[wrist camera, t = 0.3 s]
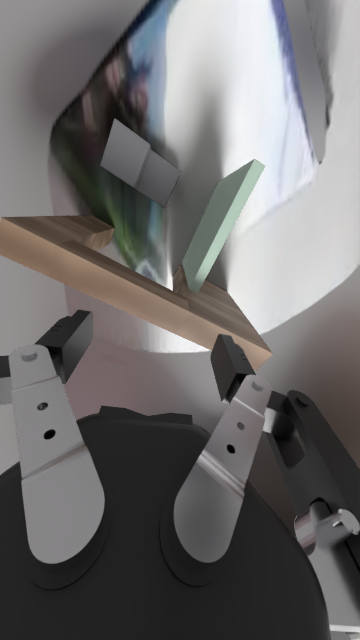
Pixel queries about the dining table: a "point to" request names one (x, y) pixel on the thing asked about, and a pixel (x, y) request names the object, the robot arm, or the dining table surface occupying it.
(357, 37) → the dining table surface
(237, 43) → the dining table surface
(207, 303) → the wall frame
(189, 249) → the door
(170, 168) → the grey stepped block
